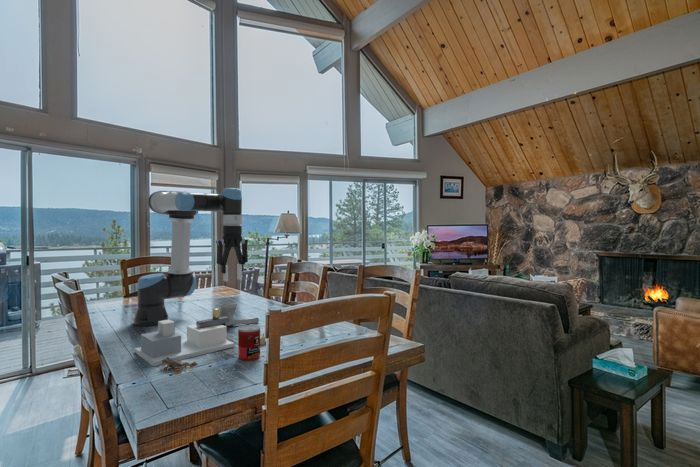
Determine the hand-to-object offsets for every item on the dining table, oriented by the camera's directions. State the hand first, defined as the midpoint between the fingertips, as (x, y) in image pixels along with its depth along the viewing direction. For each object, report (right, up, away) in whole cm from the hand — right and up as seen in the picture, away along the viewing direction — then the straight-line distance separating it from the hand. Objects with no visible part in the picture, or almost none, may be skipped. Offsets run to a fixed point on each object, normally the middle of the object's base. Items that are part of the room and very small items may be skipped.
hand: (232, 280), depth 165 cm
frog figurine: (-9, -26, -33) cm, 43 cm away
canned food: (+13, -26, -22) cm, 36 cm away
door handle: (-6, -25, +28) cm, 37 cm away
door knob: (+15, -25, -3) cm, 30 cm away
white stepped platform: (-14, -25, -13) cm, 32 cm away
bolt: (-6, -17, -6) cm, 19 cm away
